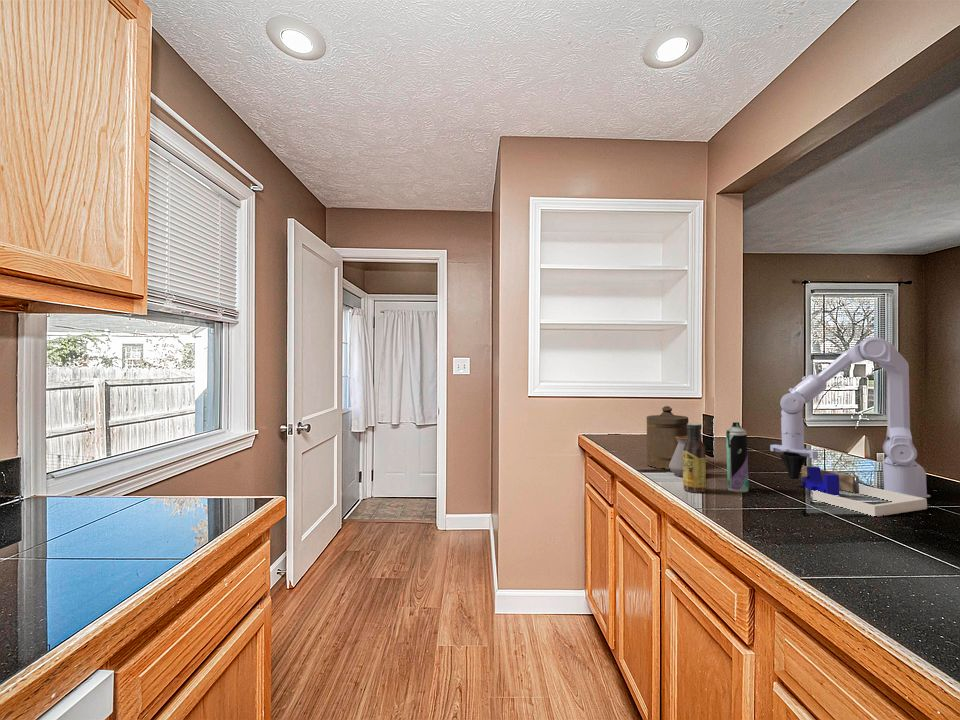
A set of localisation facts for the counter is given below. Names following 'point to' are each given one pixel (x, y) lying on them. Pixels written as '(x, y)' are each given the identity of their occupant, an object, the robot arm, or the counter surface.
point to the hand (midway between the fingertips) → (794, 478)
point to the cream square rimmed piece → (896, 506)
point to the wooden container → (664, 437)
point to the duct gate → (844, 480)
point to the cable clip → (821, 481)
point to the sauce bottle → (694, 460)
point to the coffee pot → (678, 457)
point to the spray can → (737, 458)
